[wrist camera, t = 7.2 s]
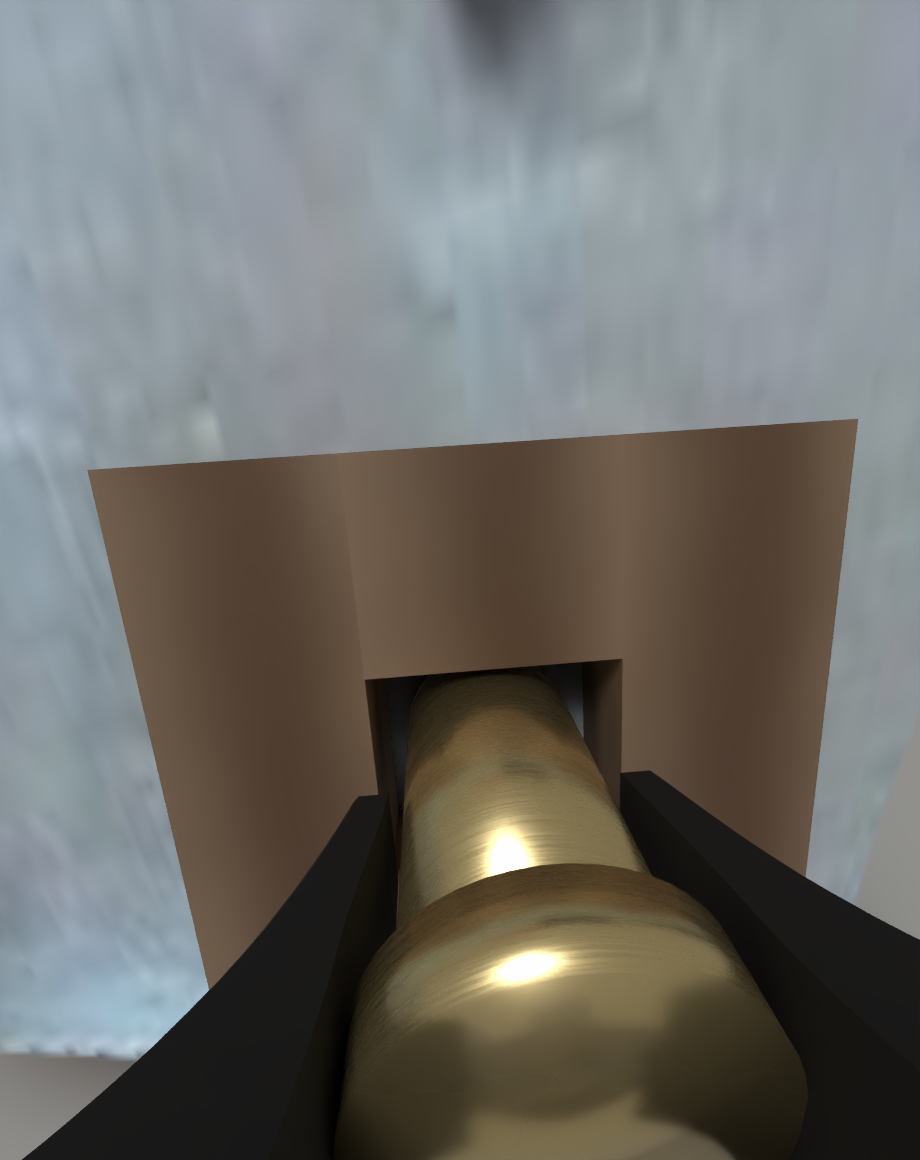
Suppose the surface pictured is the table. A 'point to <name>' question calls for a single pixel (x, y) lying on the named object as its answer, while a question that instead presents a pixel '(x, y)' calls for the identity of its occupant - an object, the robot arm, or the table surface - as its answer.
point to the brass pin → (548, 966)
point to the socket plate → (474, 626)
